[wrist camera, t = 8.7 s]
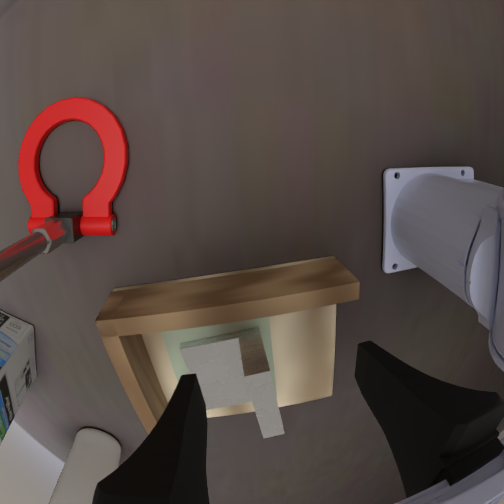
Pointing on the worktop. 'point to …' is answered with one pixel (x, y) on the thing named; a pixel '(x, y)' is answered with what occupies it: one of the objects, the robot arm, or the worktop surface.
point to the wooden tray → (207, 315)
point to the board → (275, 344)
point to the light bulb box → (14, 366)
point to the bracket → (235, 375)
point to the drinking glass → (86, 467)
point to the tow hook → (45, 204)
